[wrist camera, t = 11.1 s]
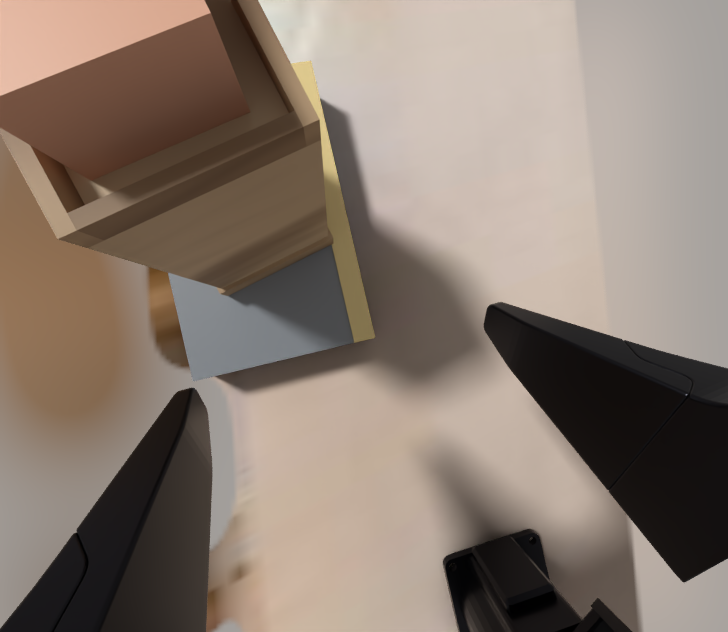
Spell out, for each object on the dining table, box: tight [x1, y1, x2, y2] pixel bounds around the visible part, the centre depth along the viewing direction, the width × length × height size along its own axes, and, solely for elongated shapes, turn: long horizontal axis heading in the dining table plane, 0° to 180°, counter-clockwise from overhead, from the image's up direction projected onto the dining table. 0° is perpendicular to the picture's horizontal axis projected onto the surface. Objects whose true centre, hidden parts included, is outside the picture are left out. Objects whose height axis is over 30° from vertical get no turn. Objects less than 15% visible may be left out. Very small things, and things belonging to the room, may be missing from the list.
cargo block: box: [0, 0, 250, 181], centre depth 6 cm, size 4×4×2 cm
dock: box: [168, 61, 375, 381], centre depth 19 cm, size 16×10×3 cm, turn 13°
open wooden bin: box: [0, 0, 333, 296], centre depth 12 cm, size 6×6×11 cm
